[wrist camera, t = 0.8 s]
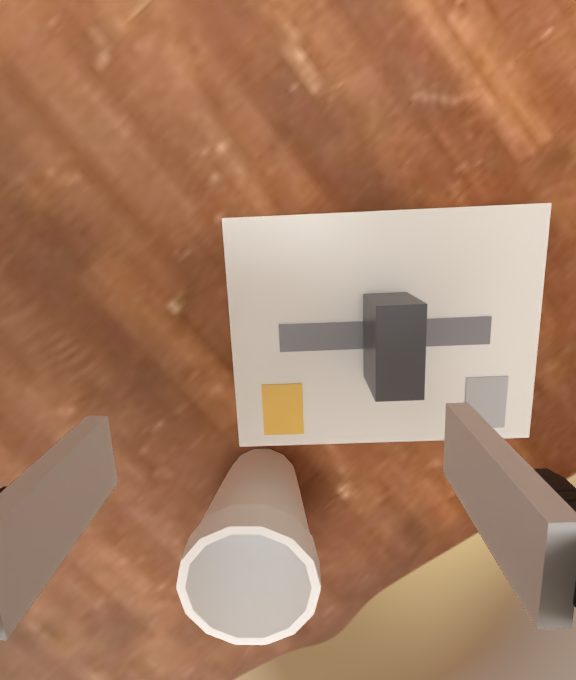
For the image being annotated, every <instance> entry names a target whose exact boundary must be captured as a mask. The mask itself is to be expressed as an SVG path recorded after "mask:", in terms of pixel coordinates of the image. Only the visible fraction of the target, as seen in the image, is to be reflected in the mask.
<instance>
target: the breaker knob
mask: <svg viewBox="0 0 576 680" xmlns="http://www.w3.org/2000/svg"><path fill="white" fill-rule="evenodd" d="M426 333H427V303H425V302H423V301H422V300H420V299H418V298H416V297H415V296H413V295H411V294H409V293H408V292H395V293H370V294H363V358H364V378H365V380H366V382H367V384H368V387H369V389H370V391H371V393H372V395H373V398H374V400H375V402H384V401H413V400H424V395H425V364H426Z"/></svg>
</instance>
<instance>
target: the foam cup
mask: <svg viewBox="0 0 576 680" xmlns="http://www.w3.org/2000/svg"><path fill="white" fill-rule="evenodd" d="M176 589H177V592H178V595H179V597H180V600H181V603H182V606H183V608H184V611H185V614H186V615H187V616H188V617H190V618H191V619H192V620H193V621H194V622H195V623H196V624H197V625H198V626H199V627H200V628H201V629H202V630H203V631H204V632H205V633H206V634H209V635H211V636H214V637H216V638H219V639H222V640H224V641H227V642H229V643H232V644H235V645H267V644H270V643H273V642H275V641H278V640H280V639H283V638H286V637H288V636H291V635H293V634H295V633H296V632H297V631H298V630H299V629H300V628H301V627H302V626H303V625H304V624H305V623H306V622H307V621H308V620H309V619H310V618H311V616H312V615H313V614H314V612H315V608H316V605H317V601H318V598H319V594H320V590H321V579H320V564H319V559H318V555H317V551H316V548H315V544H314V540H313V536H312V535H311V534H310V532H309V528H308V523H307V519H306V515H305V511H304V506H303V502H302V498H301V494H300V489H299V485H298V481H297V477H296V474H295V470H294V466H293V465H292V464H291V462H290V461H289V460H288V459H287V458H286V457H285V456H284V455H283V454H281V453H278V452H276V451H274V450H271V449H253V450H251V451H249V452H246V453H244V454H242V455H240V457H239V458H238V459H237V460H236V461H235V463H234V464H233V465H232V467H231V468H230V470H229V472H228V473H227V475H226V477H225V479H224V481H223V482H222V484H221V486H220V488H219V490H218V491H217V493H216V495H215V497H214V499H213V501H212V502H211V504H210V506H209V508H208V510H207V511H206V513H205V515H204V517H203V519H202V520H201V522H200V524H199V526H198V527H197V528H196V529H195V530H194V532H193V533H192V534H191V535H190V536H189V539H188V542H187V545H186V548H185V551H184V553H183V556H182V559H181V563H180V568H179V574H178V580H177V585H176Z"/></svg>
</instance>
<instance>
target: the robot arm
mask: <svg viewBox="0 0 576 680" xmlns="http://www.w3.org/2000/svg"><path fill="white" fill-rule="evenodd" d="M443 474H444V475H445V477H446V479H447V480H448V482H449V484H450V485H451V487H452V489H453V490H454V492H455V494H456V495H457V497H458V499H459V500H460V502H461V504H462V505H463V507H464V509H465V510H466V512H467V514H468V515H469V517H470V519H471V520H472V522H473V524H474V525H475V527H476V529H477V530H478V532H479V534H480V535H481V537H482V539H483V540H484V542H485V544H486V545H487V547H488V549H489V550H490V552H491V554H492V555H493V557H494V559H495V560H496V562H497V563H498V565H499V567H500V569H501V570H502V572H503V574H504V575H505V577H506V579H507V580H508V582H509V584H510V585H511V587H512V589H513V590H514V592H515V594H516V595H517V597H518V599H519V600H520V602H521V604H522V605H523V607H524V609H525V610H526V612H527V614H528V615H529V617H530V619H531V620H532V622H533V624H534V625H535V627H536V629H571V628H572V620H573V613H574V606H575V607H576V488H575V487H574V486H573V485H572V484H570V482H568V481H567V480H566V479H565V478H564V477H562V476H560V475H558V474H556V473H554V472H552V471H551V470H549V469H533V468H532V467H531V466H530V465H529V464H528V463H527V462H526V461H525V460H524V459H523V458H522V457H521V456H520V455H519V454H518V453H517V452H516V451H515V450H514V449H513V448H512V447H511V446H510V445H509V444H508V443H507V442H506V441H505V440H504V439H503V438H502V437H501V436H500V435H499V434H498V433H497V432H496V431H495V430H494V429H493V428H492V427H491V426H490V425H489V424H488V423H487V422H486V420H485V419H484V418H483V417H482V416H481V415H480V414H479V413H478V412H477V411H476V410H475V409H474V408H473V407H472V406H471V405H470V404H469V403H468V402H464V403H446V412H445V437H444V461H443ZM117 484H118V479H117V472H116V466H115V459H114V453H113V446H112V440H111V434H110V427H109V421H108V415H102V416H86V417H85V418H84V419H83V420H82V421H81V422H80V423H79V424H77V425H76V426H75V427H74V428H73V429H72V430H71V431H70V432H68V433H67V434H66V435H65V436H64V437H63V438H62V439H60V440H59V441H58V442H57V443H56V444H55V445H54V446H53V447H51V448H50V449H49V450H48V451H47V452H46V453H45V454H44V455H42V456H41V457H40V458H39V459H38V460H37V461H36V462H35V463H33V464H32V465H31V466H30V467H29V468H28V469H27V470H26V471H24V472H23V473H22V474H21V475H20V476H19V477H18V478H17V479H15V480H14V481H13V482H12V483H11V484H10V485H9V486H8V487H2V488H1V489H0V640H7V639H8V638H9V636H10V635H11V634H12V632H13V631H14V629H15V628H16V627H17V625H18V624H19V622H20V621H21V619H22V618H23V617H24V615H25V614H26V612H27V611H28V610H29V608H30V607H31V605H32V604H33V603H34V601H35V600H36V598H37V597H38V595H39V594H40V593H41V591H42V590H43V588H44V587H45V586H46V584H47V583H48V581H49V580H50V578H51V577H52V576H53V574H54V573H55V571H56V570H57V569H58V567H59V566H60V564H61V563H62V562H63V560H64V559H65V557H66V556H67V554H68V553H69V552H70V550H71V549H72V547H73V546H74V545H75V543H76V542H77V540H78V539H79V537H80V536H81V535H82V533H83V532H84V530H85V529H86V528H87V526H88V525H89V523H90V522H91V521H92V519H93V518H94V516H95V515H96V513H97V512H98V511H99V509H100V508H101V506H102V505H103V504H104V502H105V501H106V499H107V498H108V496H109V495H110V494H111V492H112V491H113V489H114V488H115V487H116V485H117Z"/></svg>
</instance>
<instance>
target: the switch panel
mask: <svg viewBox="0 0 576 680" xmlns="http://www.w3.org/2000/svg"><path fill="white" fill-rule="evenodd" d="M550 214H551V203H538V204H517V205H495V206H474V207H452V208H431V209H409V210H388V211H366V212H345V213H323V214H302V215H281V216H259V217H238V218H222V229H223V242H224V255H225V268H226V280H227V293H228V306H229V319H230V332H231V345H232V358H233V370H234V383H235V396H236V409H237V422H238V435H239V447H247V446H279V445H310V444H342V443H373V442H405V441H436V440H444V437H445V412H446V403H464V402H468V403H469V404H470V405H471V406H472V407H473V408H474V409H475V410H476V411H477V412H478V413H479V414H480V415H481V416H482V417H483V418H484V419H485V420H486V422H487V423H488V424H489V425H490V426H491V427H492V428H493V429H494V430H495V431H496V432H497V433H498V434H499V435H500V436H501V437H502V438H529V433H530V422H531V412H532V401H533V391H534V381H535V370H536V360H537V349H538V339H539V328H540V318H541V308H542V297H543V287H544V276H545V266H546V255H547V245H548V235H549V224H550ZM395 292H408V293H409V294H411V295H413V296H415V297H416V298H418V299H420V300H422V301H423V302H425V303H427V333H426V364H425V395H424V400H413V401H384V402H375V400H374V398H373V395H372V393H371V391H370V389H369V387H368V384H367V382H366V380H365V378H364V358H363V294H370V293H395Z"/></svg>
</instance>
